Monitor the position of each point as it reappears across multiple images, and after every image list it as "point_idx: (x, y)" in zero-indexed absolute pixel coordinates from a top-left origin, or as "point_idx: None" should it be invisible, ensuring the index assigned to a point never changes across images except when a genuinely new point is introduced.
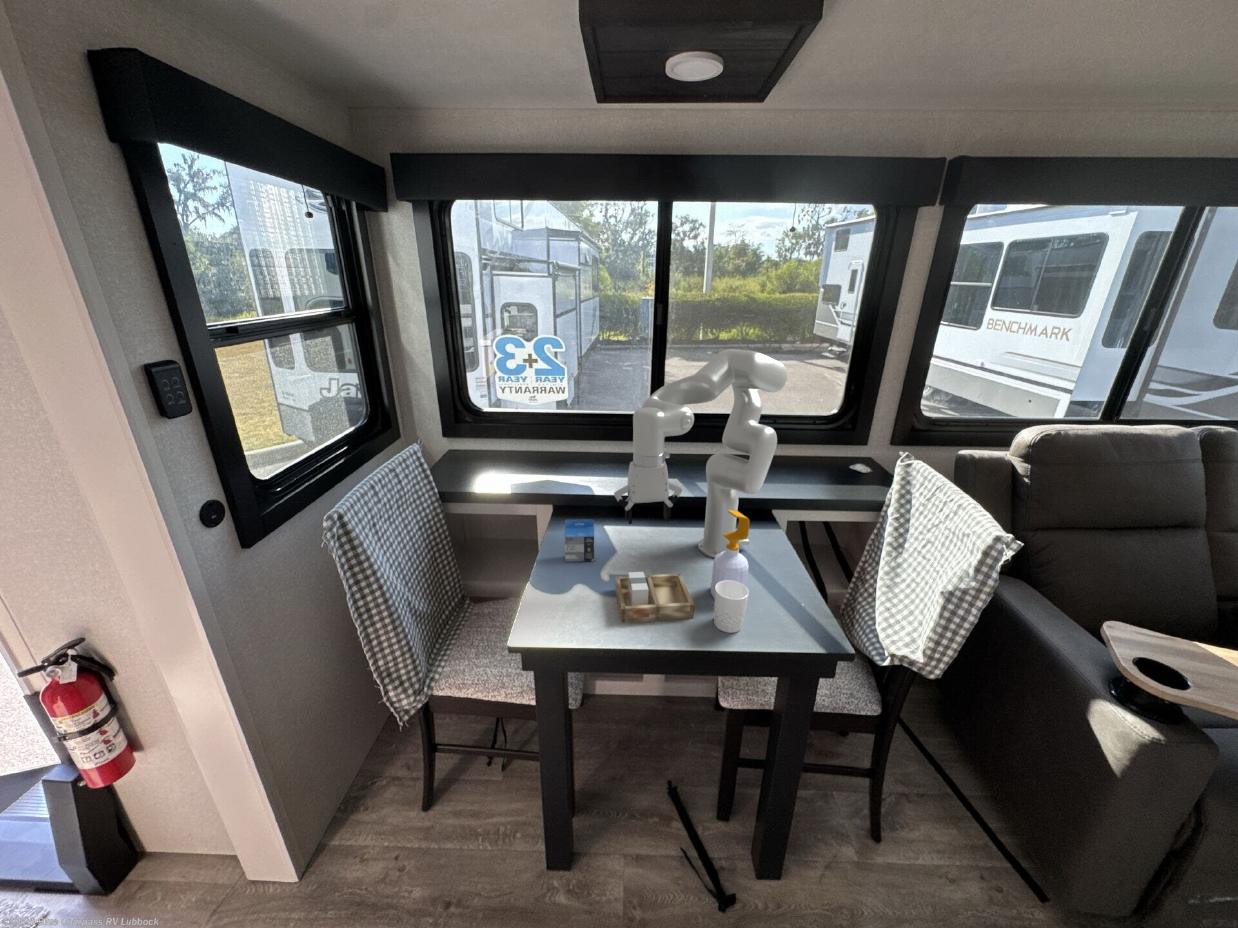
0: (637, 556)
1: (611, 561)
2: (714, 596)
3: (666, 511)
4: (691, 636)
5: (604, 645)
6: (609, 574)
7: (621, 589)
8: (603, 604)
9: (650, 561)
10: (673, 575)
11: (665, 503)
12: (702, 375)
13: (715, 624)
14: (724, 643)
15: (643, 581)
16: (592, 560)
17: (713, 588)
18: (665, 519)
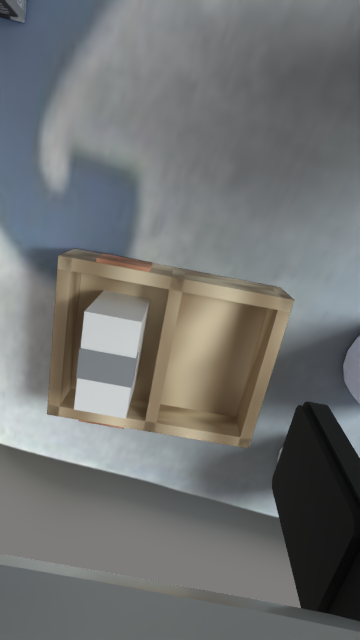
0: (219, 35)
1: (99, 47)
2: (344, 373)
3: (297, 579)
4: (207, 468)
5: (11, 444)
6: (72, 150)
7: (64, 331)
8: (27, 310)
9: (255, 98)
10: (264, 304)
11: (356, 595)
12: None
13: (278, 457)
14: (263, 500)
15: (122, 379)
16: (16, 20)
17: (354, 377)
18: (277, 471)
